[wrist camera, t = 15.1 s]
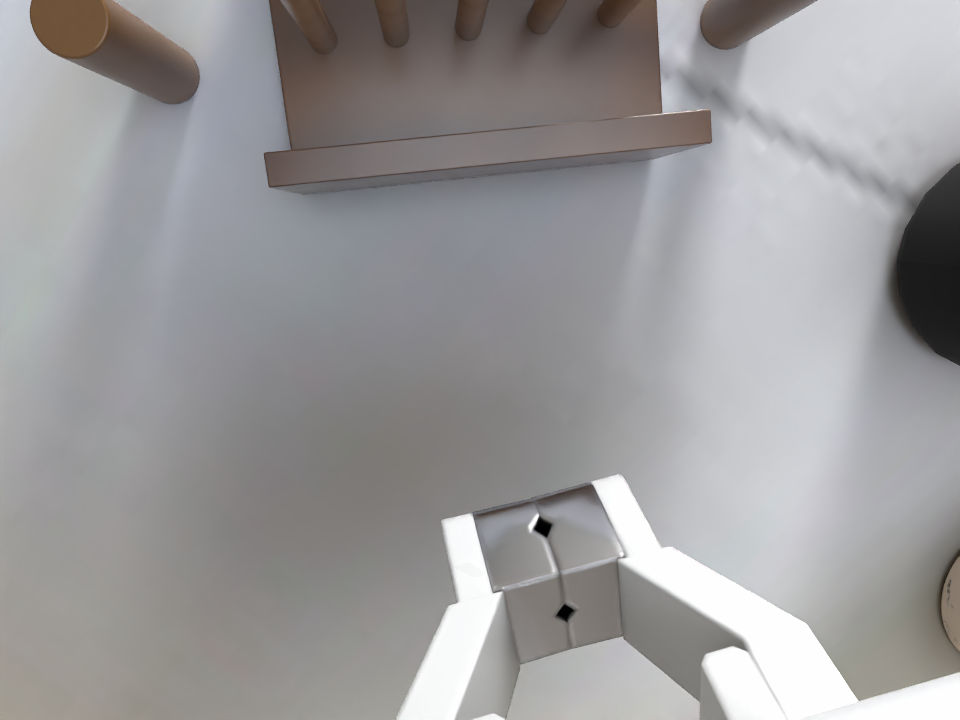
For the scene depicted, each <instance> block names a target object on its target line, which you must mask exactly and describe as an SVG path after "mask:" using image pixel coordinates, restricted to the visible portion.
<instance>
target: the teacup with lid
mask: <svg viewBox="0 0 960 720" xmlns="http://www.w3.org/2000/svg"><path fill="white" fill-rule="evenodd" d="M941 612H942V619H943V624H944V627H945V630H946V632H947V634H948V636H949V638H950V640H951V642H952V643H953V645H954V646H955V647H956V648H957V650H958V651H959V652H960V556H959V557H958V558H957V560H956V561H955V563H954V564H953V566H952V568H951V570H950V571H949V574H948V576H947V578H946V581H945V584H944V588H943V593H942V600H941Z"/></svg>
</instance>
